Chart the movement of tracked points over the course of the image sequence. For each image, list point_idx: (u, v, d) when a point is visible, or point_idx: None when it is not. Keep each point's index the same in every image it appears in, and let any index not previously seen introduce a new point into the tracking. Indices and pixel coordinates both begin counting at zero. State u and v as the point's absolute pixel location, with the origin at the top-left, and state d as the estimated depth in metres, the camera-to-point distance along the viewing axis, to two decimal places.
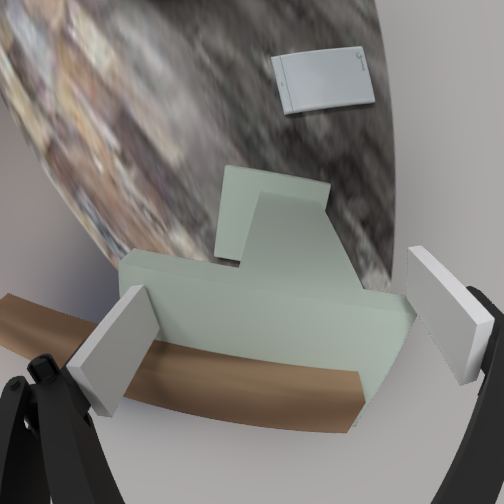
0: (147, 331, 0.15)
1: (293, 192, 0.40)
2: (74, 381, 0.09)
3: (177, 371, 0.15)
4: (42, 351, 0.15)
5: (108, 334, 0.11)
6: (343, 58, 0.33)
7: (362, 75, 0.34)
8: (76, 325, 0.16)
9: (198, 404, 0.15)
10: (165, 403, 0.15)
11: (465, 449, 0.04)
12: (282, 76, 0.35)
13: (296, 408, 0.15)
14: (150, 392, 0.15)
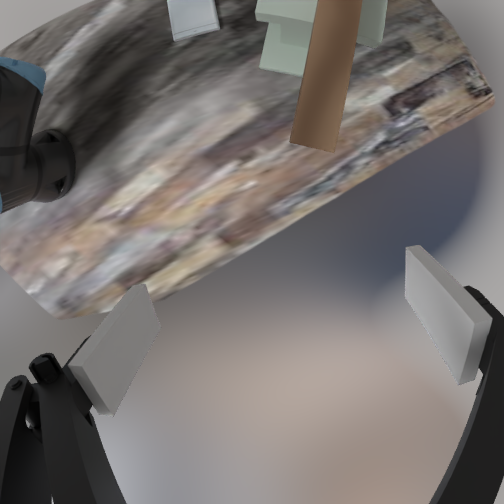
0: (148, 330, 0.15)
1: None
2: (76, 380, 0.09)
3: None
4: (327, 78, 0.18)
5: (110, 333, 0.11)
6: None
7: None
8: None
9: None
10: None
11: (463, 449, 0.04)
12: (189, 31, 0.42)
13: None
14: None
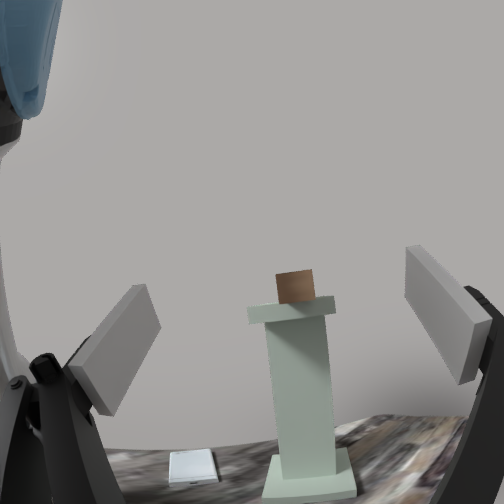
0: (148, 330, 0.15)
1: (281, 466, 0.41)
2: (76, 380, 0.09)
3: None
4: None
5: (110, 333, 0.11)
6: (178, 458, 0.47)
7: (191, 452, 0.50)
8: None
9: None
10: None
11: (463, 449, 0.04)
12: (186, 478, 0.40)
13: None
14: None
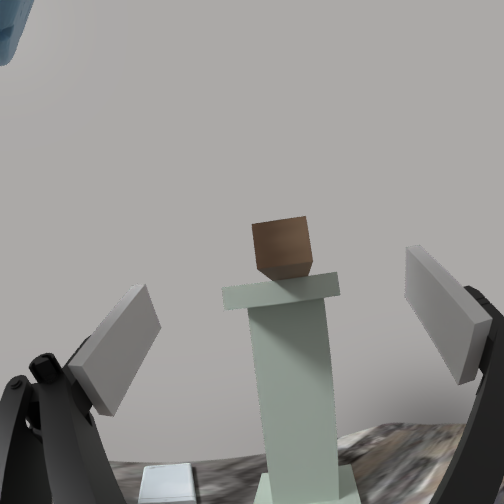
0: (148, 330, 0.15)
1: None
2: (76, 380, 0.09)
3: None
4: None
5: (110, 333, 0.11)
6: (152, 473, 0.38)
7: (168, 467, 0.41)
8: None
9: None
10: None
11: (463, 449, 0.04)
12: (159, 499, 0.31)
13: None
14: None
